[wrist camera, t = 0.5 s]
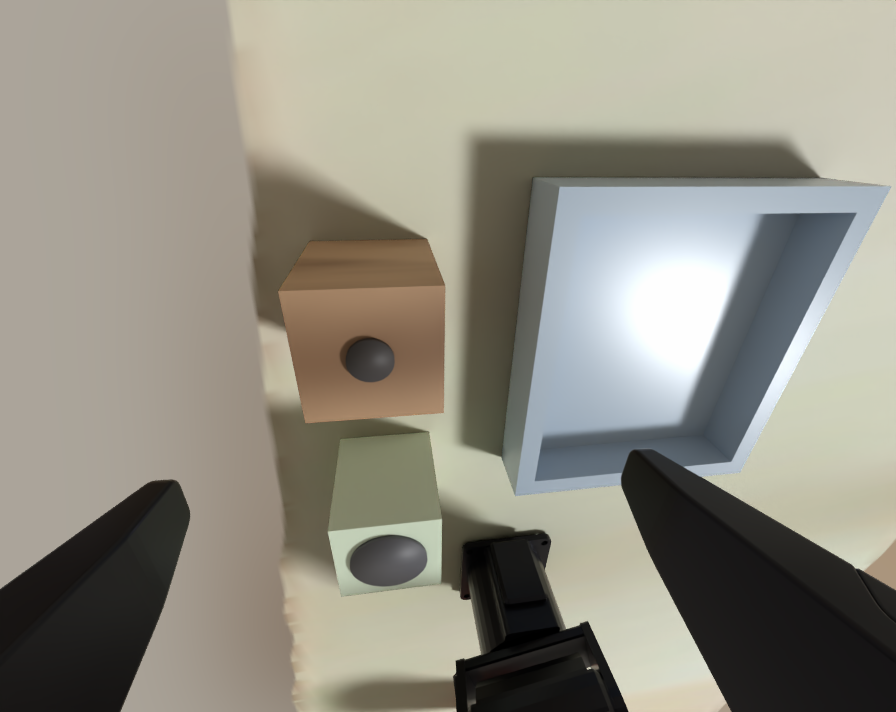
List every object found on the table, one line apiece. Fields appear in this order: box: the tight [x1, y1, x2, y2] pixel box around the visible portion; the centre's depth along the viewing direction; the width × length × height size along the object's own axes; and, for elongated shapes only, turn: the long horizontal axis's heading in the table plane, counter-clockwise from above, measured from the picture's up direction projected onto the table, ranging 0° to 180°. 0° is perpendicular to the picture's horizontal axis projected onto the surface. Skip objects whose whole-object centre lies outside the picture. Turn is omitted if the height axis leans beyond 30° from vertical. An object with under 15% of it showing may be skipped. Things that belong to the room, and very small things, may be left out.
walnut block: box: [278, 239, 445, 423], centre depth 16 cm, size 5×5×6 cm
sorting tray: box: [501, 177, 891, 496], centre depth 20 cm, size 16×14×3 cm
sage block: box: [328, 432, 442, 597], centre depth 21 cm, size 5×5×6 cm
